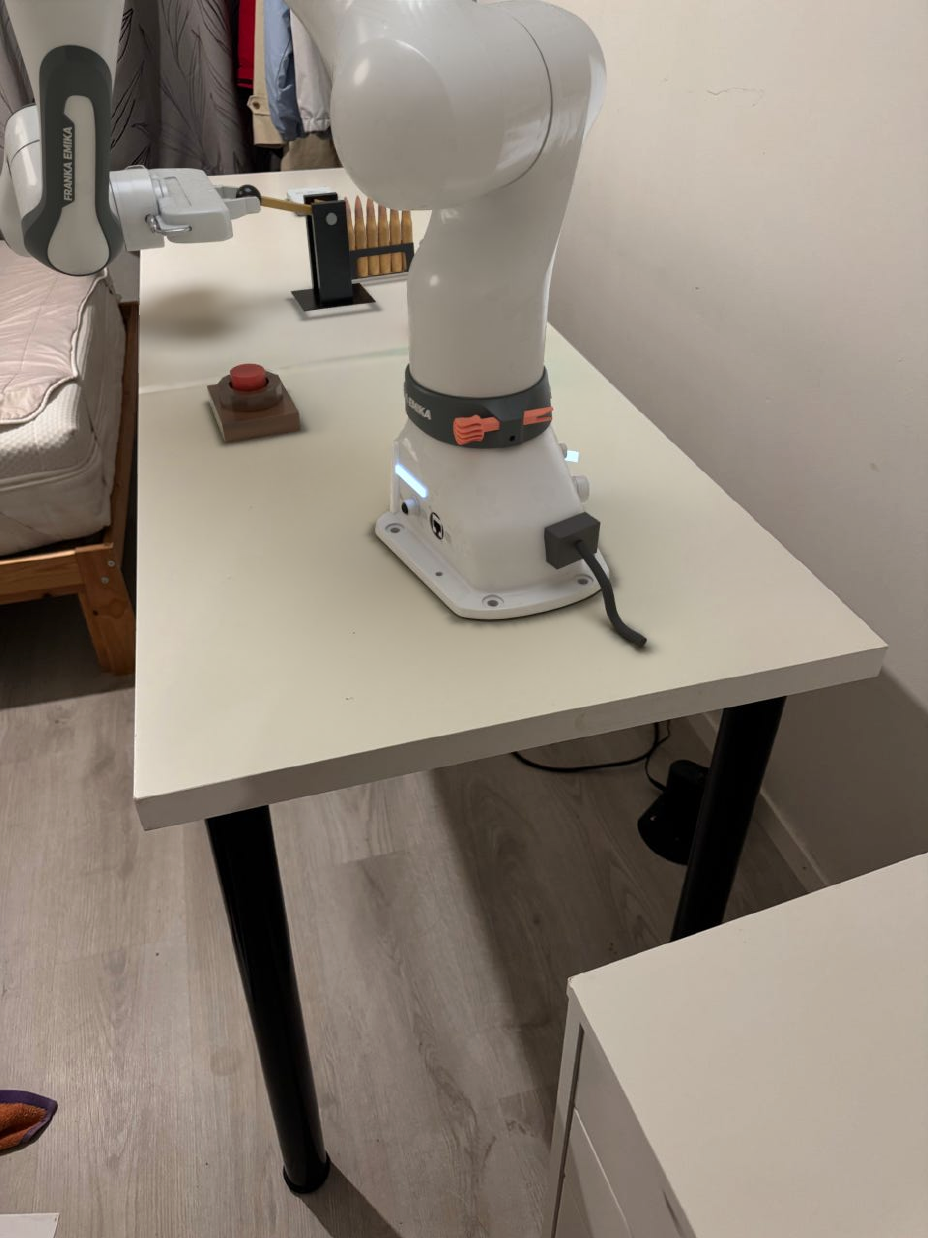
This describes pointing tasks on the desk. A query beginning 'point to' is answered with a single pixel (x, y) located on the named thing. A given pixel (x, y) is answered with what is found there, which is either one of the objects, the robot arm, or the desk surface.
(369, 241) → the ammunition clip
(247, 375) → the button
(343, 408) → the desk surface
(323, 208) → the bracket
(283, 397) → the button block
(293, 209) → the lever
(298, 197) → the hard drive
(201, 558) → the desk surface
